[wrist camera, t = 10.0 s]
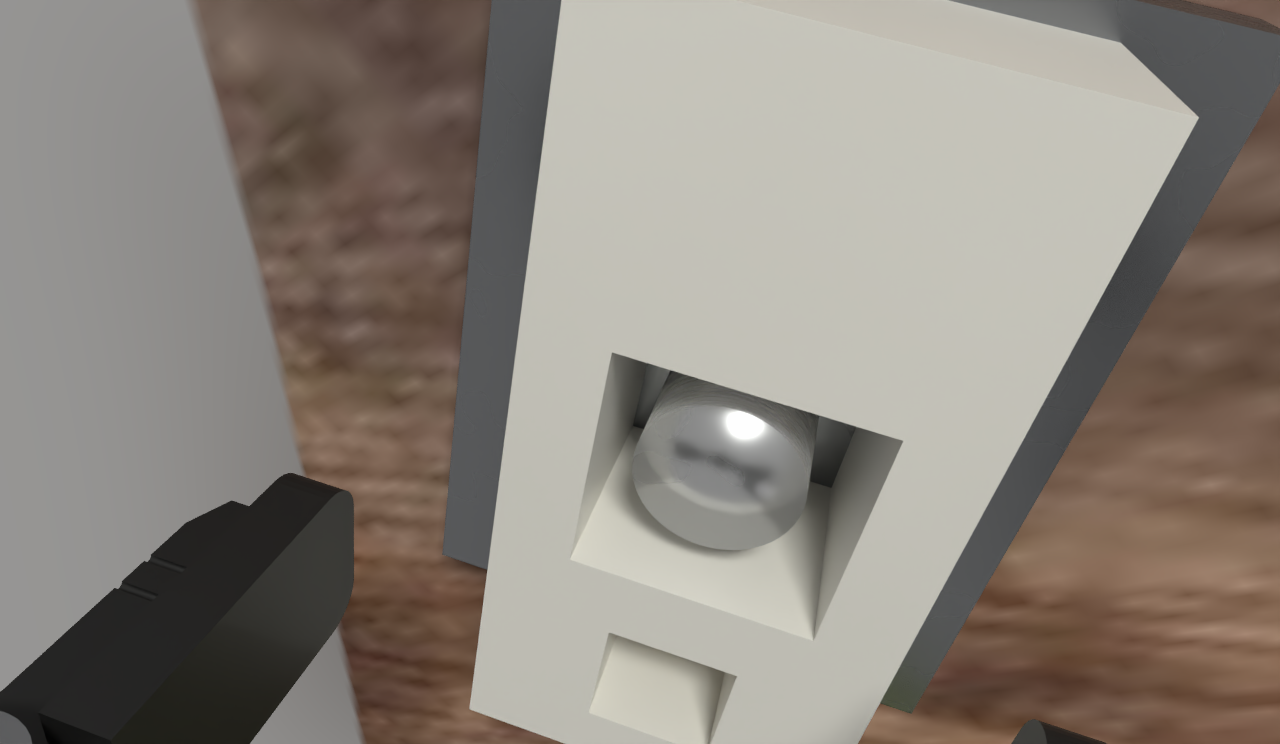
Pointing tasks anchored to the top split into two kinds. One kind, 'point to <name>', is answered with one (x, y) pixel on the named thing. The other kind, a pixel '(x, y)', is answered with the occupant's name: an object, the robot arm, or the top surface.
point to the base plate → (505, 220)
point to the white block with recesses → (792, 337)
